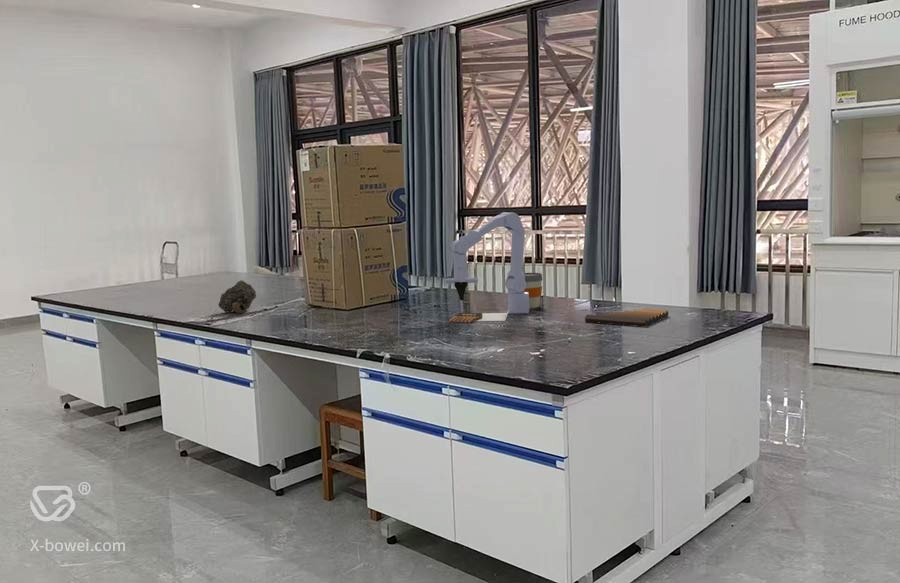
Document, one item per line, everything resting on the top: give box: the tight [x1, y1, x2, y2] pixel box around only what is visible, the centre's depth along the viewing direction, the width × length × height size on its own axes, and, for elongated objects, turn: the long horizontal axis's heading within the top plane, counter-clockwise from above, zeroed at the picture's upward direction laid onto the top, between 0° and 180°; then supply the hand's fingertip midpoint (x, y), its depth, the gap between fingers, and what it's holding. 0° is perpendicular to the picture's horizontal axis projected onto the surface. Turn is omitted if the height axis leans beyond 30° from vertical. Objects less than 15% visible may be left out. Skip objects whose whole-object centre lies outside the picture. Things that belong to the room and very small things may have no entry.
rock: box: [217, 280, 257, 315], centre depth 360 cm, size 18×14×15 cm
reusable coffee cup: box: [523, 272, 543, 309], centre depth 339 cm, size 13×13×15 cm
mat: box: [474, 312, 509, 323], centre depth 315 cm, size 12×18×1 cm
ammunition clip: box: [448, 312, 483, 323], centre depth 310 cm, size 11×2×12 cm
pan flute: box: [584, 308, 669, 327], centre depth 298 cm, size 25×3×25 cm
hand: (461, 299), depth 316 cm, fingers closed
